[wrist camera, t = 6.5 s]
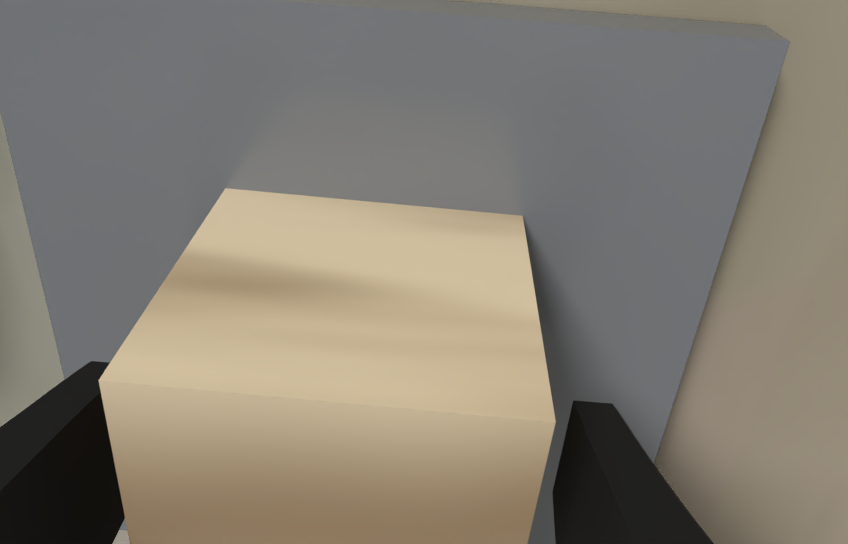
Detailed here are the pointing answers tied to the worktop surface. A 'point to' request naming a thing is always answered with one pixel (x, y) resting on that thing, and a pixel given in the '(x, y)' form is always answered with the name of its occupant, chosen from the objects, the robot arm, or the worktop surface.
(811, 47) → the worktop surface
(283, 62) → the slate trivet
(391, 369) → the beech cube
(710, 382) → the worktop surface
